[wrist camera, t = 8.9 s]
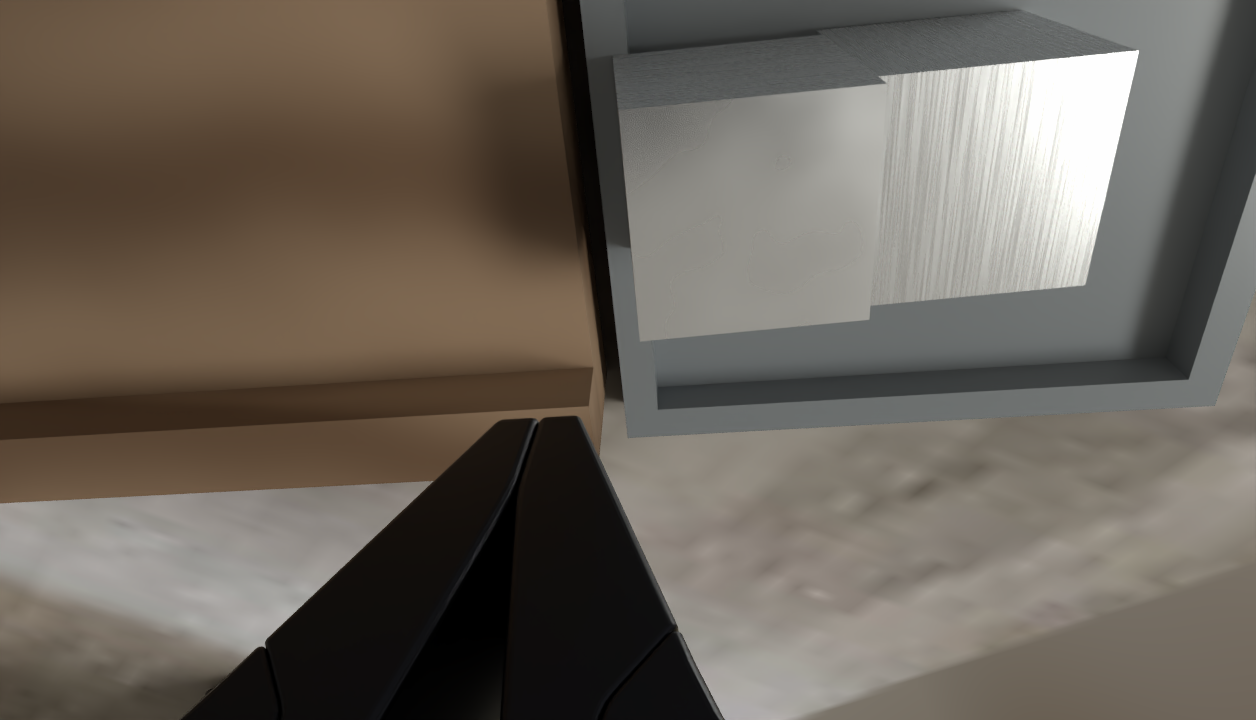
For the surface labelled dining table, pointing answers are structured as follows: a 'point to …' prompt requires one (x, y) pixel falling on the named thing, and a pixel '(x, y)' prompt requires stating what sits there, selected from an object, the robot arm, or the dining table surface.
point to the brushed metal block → (750, 184)
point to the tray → (995, 323)
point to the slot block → (285, 241)
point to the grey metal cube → (990, 151)
